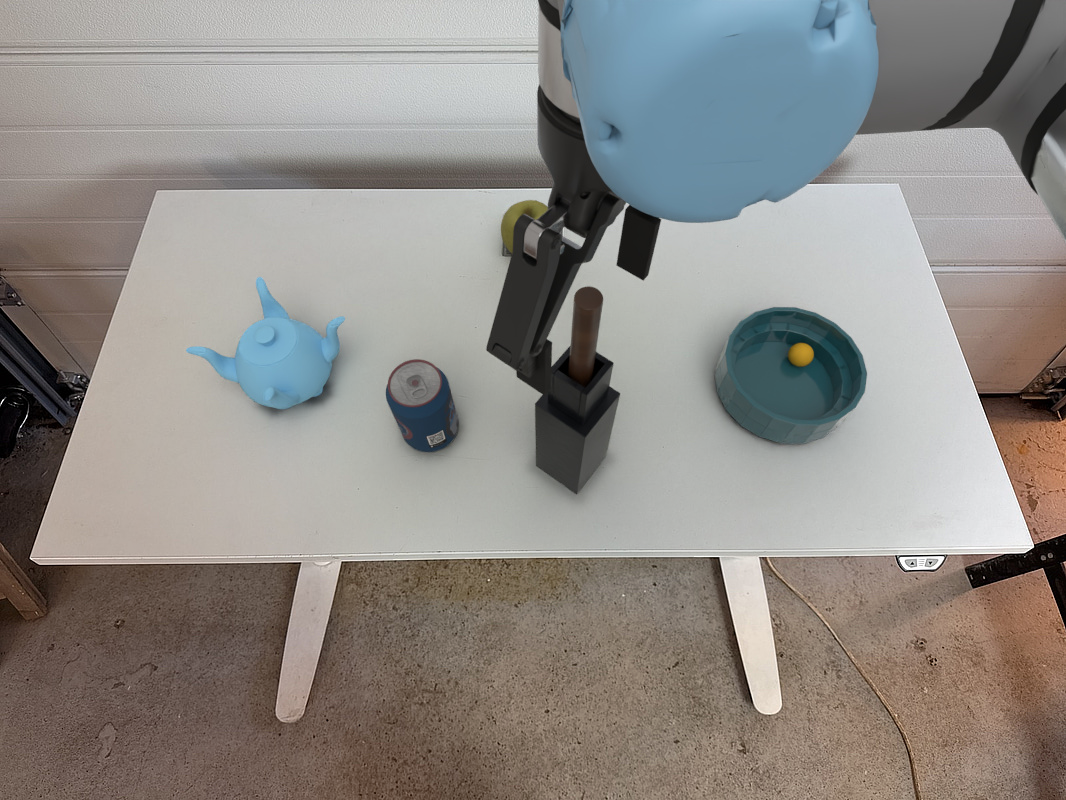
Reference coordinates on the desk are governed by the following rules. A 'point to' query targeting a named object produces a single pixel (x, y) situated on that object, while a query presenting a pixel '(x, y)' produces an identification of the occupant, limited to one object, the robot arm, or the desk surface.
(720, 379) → the bowl
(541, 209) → the apple
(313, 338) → the teapot
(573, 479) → the holder
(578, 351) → the stick
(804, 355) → the ball
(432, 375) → the soda can
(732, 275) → the desk surface
